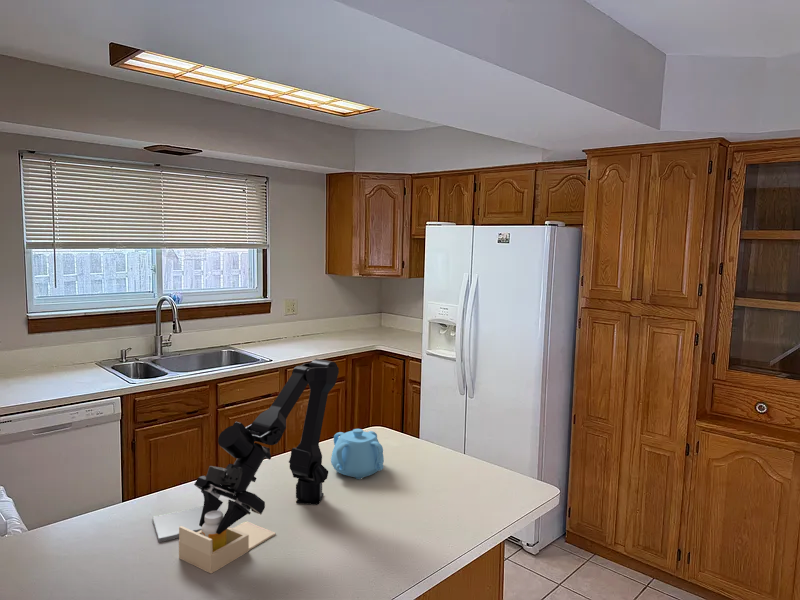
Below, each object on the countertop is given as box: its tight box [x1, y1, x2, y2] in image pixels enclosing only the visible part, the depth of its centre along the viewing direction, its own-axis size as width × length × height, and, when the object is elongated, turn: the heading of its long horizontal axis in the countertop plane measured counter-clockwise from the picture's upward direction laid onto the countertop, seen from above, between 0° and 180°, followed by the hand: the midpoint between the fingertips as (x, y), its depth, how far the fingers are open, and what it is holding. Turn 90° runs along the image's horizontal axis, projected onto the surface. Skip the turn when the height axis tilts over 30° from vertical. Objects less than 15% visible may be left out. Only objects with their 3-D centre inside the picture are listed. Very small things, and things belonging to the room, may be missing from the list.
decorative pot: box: [330, 428, 385, 480], centre depth 178 cm, size 16×16×14 cm
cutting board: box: [152, 505, 224, 543], centre depth 144 cm, size 16×12×1 cm
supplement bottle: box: [202, 510, 226, 552], centre depth 130 cm, size 5×5×10 cm
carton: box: [178, 521, 276, 574], centre depth 133 cm, size 20×11×8 cm, turn 148°
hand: (209, 529), depth 128 cm, fingers closed on supplement bottle, 5 cm apart
